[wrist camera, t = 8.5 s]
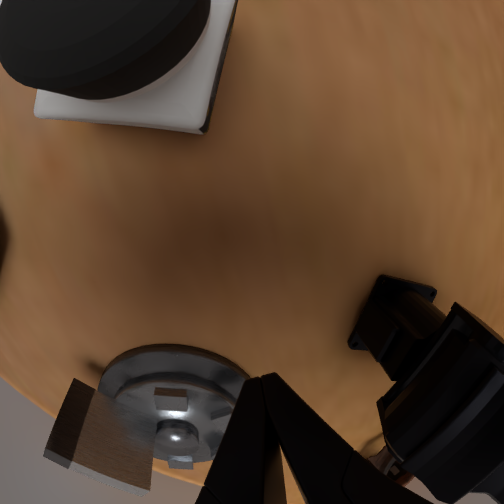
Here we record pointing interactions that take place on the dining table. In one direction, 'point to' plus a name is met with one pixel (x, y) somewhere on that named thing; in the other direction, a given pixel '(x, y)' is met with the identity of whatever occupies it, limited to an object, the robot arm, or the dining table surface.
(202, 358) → the flange
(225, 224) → the dining table surface
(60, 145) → the dining table surface
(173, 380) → the grey studded disc
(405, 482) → the pottery mug
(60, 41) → the medicine bottle
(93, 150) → the dining table surface
